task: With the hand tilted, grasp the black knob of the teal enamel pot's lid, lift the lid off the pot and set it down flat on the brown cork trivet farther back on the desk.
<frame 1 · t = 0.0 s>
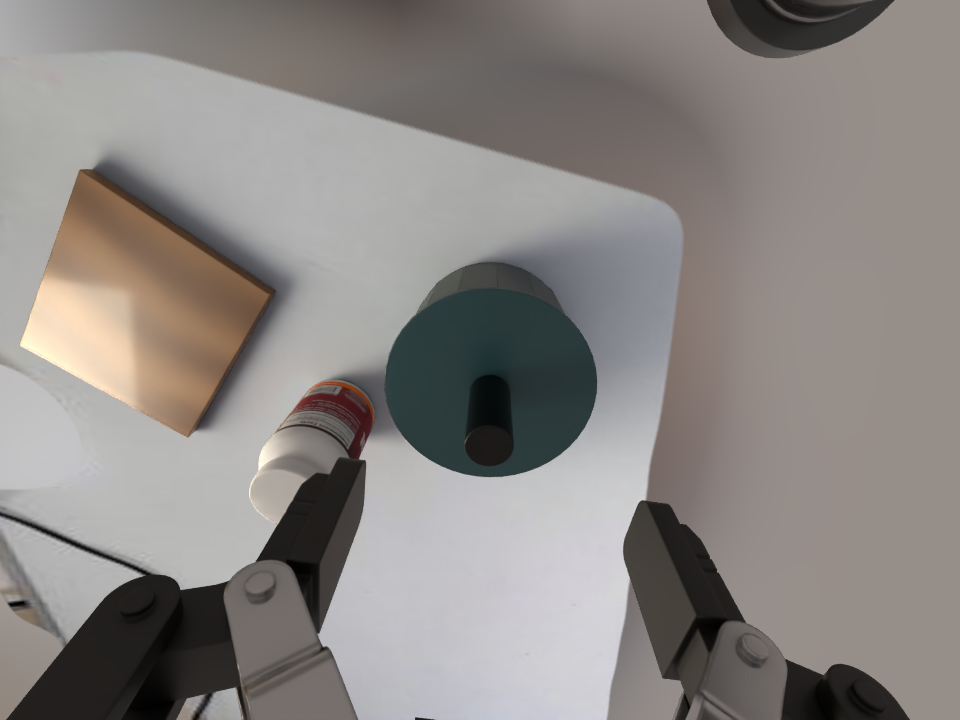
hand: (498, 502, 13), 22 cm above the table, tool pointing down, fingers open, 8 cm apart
trivet: (149, 316, 35), on the table
pill bottle: (341, 407, 38), on the table
pot: (490, 336, 35), on the table
lid: (489, 388, 27), point 8 cm above the table, touching pot
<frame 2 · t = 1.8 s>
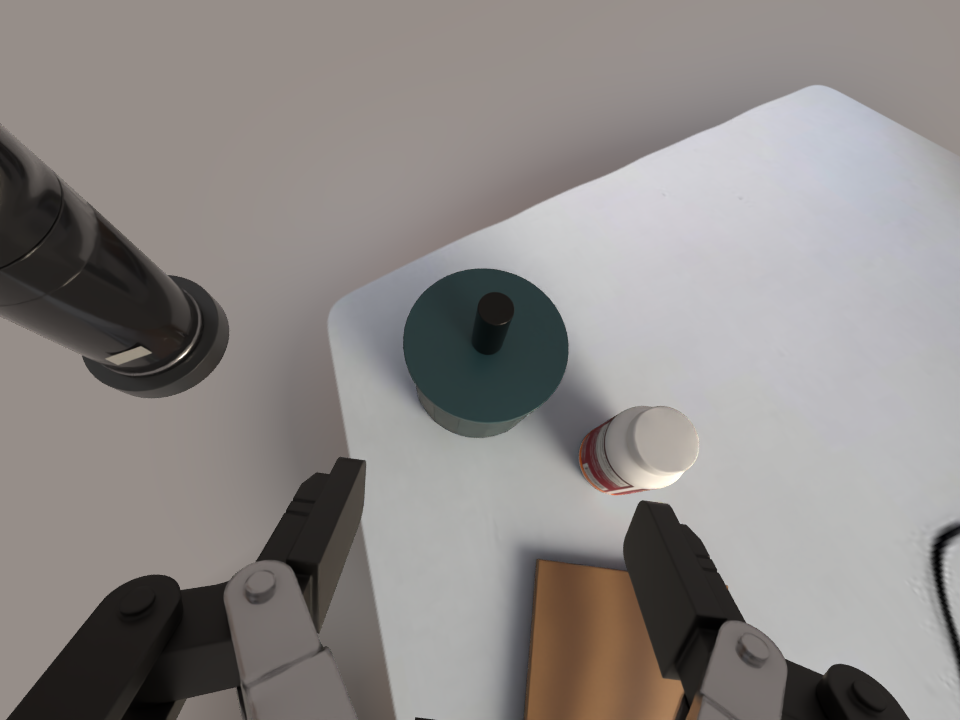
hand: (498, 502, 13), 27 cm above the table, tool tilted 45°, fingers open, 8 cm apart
trivet: (628, 668, 35), on the table
pill bottle: (608, 460, 41), on the table
pot: (477, 376, 42), on the table
lid: (486, 343, 34), point 8 cm above the table, touching pot
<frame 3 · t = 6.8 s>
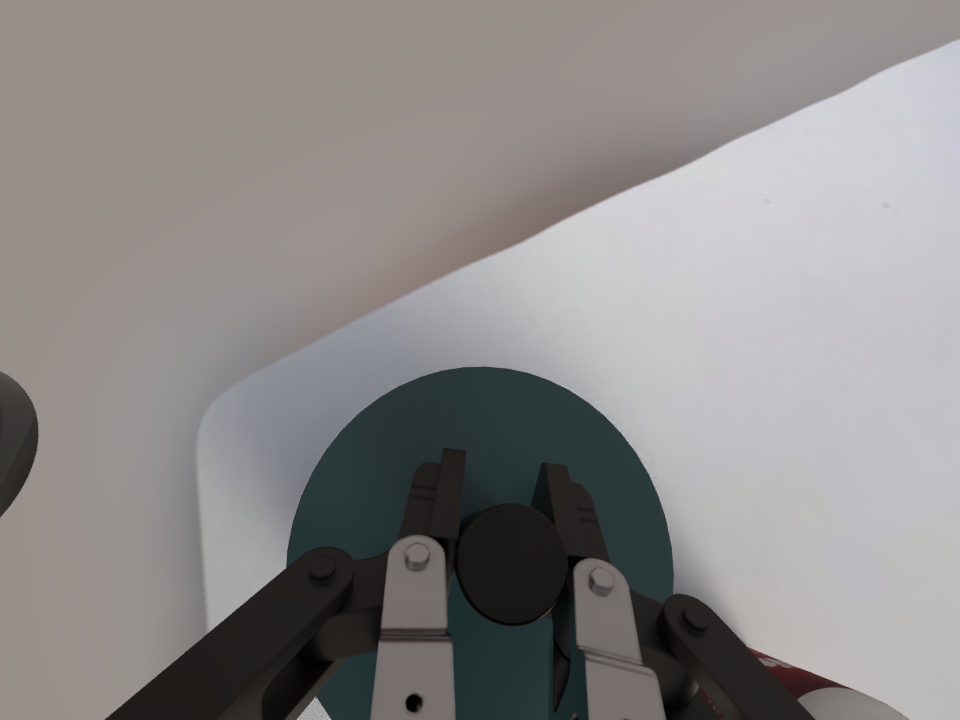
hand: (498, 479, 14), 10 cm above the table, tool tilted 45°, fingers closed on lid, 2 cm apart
pill bottle: (718, 708, 21), on the table
lid: (485, 547, 15), point 9 cm above the table, touching gripper, pot
when the fingers open (4 cm above the table, at t = 16.4 s): lid stays where it is, resting on trivet.
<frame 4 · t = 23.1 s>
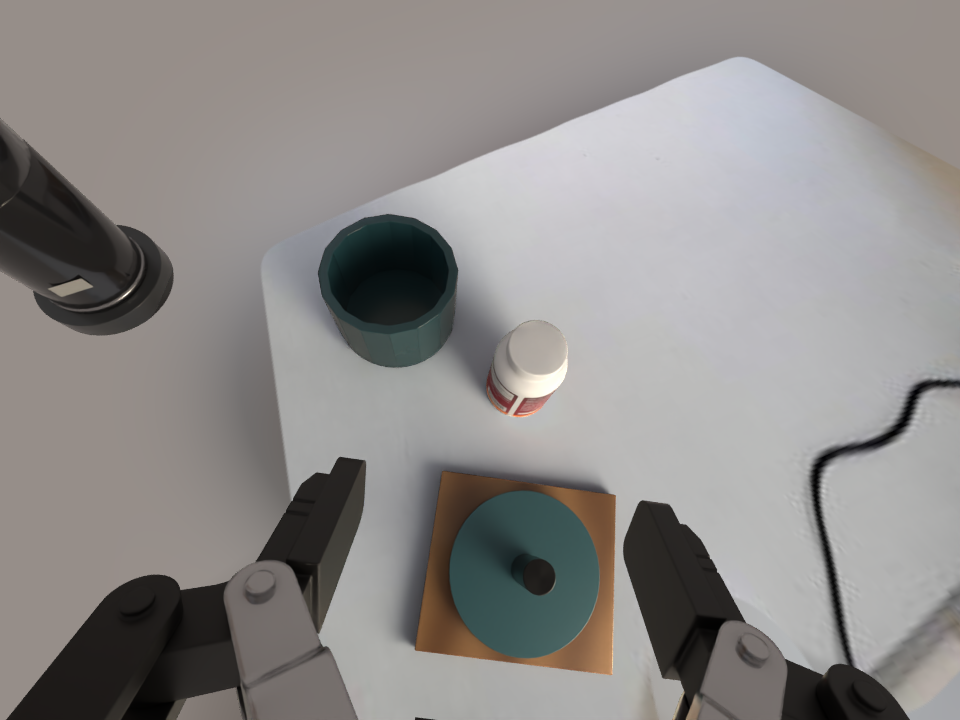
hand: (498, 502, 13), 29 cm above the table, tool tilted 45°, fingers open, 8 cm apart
trivet: (520, 566, 39), on the table
pill bottle: (515, 388, 45), on the table
pot: (397, 314, 46), on the table
lid: (524, 568, 37), point 2 cm above the table, touching trivet
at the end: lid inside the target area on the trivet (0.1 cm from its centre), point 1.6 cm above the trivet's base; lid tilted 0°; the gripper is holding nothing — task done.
